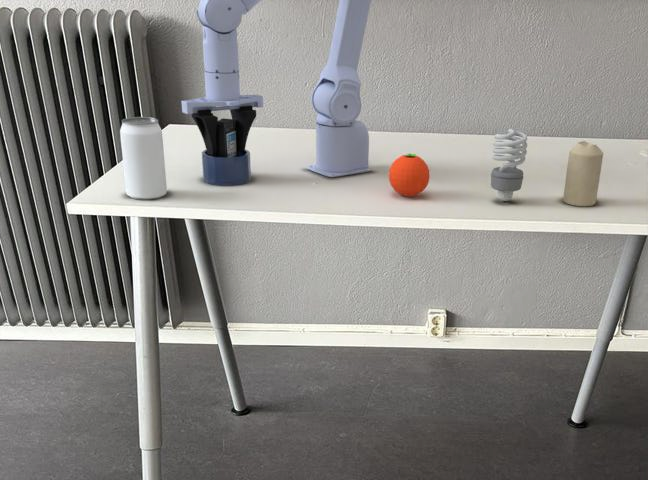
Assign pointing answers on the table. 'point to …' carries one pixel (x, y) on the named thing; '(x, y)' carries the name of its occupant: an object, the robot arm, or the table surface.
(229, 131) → the ink cartridge
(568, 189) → the candle
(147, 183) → the can
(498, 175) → the light bulb
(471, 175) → the table surface
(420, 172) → the clementine
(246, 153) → the cup
